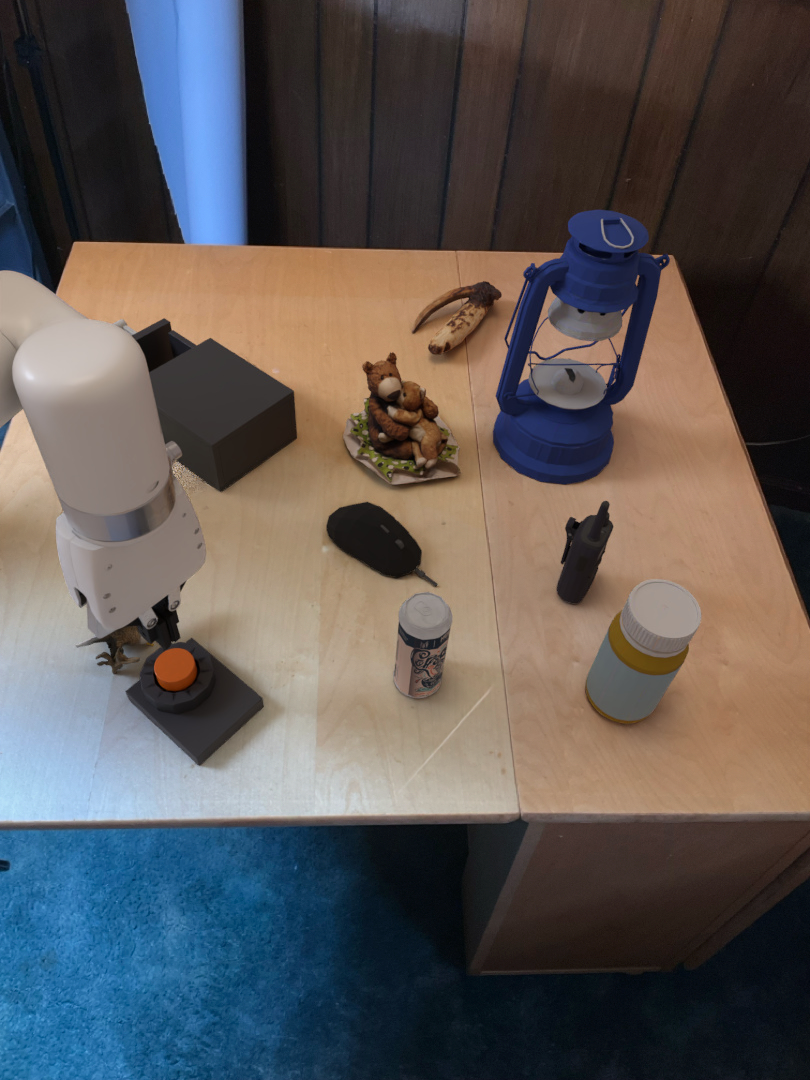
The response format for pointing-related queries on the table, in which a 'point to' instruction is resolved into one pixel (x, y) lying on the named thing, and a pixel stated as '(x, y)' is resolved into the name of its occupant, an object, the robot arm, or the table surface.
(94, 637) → the eagle figurine
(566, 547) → the two-way radio
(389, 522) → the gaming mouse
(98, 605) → the robot arm
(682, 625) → the bottle
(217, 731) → the control block
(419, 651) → the beer can
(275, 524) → the table surface
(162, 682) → the button
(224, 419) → the black drawer box
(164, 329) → the open drawer
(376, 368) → the bear figurine
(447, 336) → the lashed bone hook
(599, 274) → the lantern
